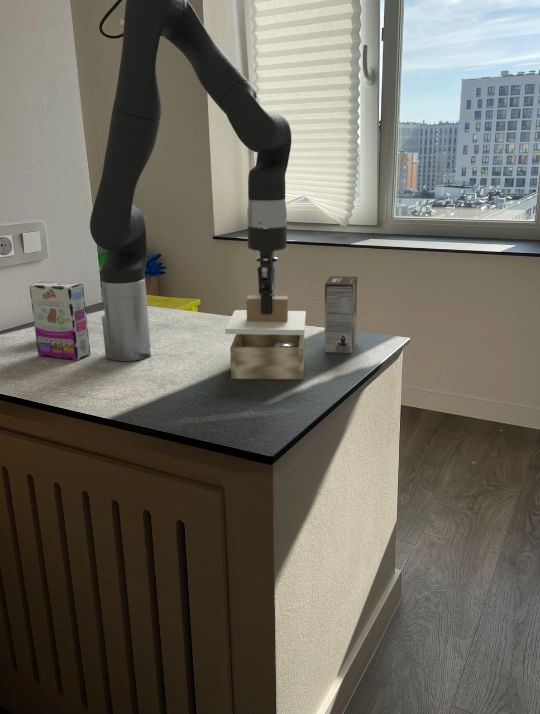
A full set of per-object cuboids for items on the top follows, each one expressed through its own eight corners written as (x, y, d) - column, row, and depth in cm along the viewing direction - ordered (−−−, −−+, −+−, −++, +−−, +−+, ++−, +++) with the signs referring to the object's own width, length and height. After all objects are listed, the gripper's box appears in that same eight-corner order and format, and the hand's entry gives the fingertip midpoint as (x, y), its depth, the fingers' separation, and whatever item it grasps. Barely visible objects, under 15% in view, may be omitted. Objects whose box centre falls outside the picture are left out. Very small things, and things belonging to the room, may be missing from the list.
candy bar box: (92, 354, 145) (84, 283, 140) (77, 361, 140) (69, 287, 135) (52, 350, 149) (43, 280, 144) (37, 356, 144) (27, 284, 140)
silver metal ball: (274, 365, 132) (274, 347, 131) (275, 359, 136) (275, 341, 135) (294, 365, 132) (294, 347, 131) (294, 359, 136) (294, 341, 135)
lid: (225, 333, 122) (224, 305, 120) (235, 314, 136) (234, 289, 135) (304, 335, 121) (304, 306, 119) (305, 315, 135) (306, 290, 134)
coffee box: (328, 343, 150) (329, 275, 145) (356, 344, 149) (357, 276, 144) (323, 355, 141) (324, 283, 136) (353, 356, 140) (354, 284, 135)
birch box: (231, 382, 126) (230, 348, 124) (239, 360, 139) (238, 329, 137) (303, 382, 125) (302, 348, 123) (304, 360, 138) (304, 329, 136)
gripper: (251, 220, 130) (252, 303, 135) (243, 228, 116) (244, 320, 122) (288, 220, 129) (287, 304, 134) (284, 228, 116) (284, 320, 121)
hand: (267, 311), depth 128 cm, fingers closed on lid, 3 cm apart
